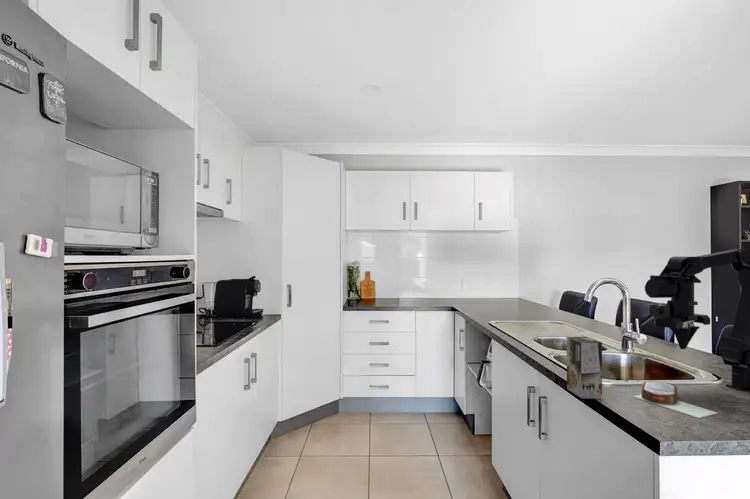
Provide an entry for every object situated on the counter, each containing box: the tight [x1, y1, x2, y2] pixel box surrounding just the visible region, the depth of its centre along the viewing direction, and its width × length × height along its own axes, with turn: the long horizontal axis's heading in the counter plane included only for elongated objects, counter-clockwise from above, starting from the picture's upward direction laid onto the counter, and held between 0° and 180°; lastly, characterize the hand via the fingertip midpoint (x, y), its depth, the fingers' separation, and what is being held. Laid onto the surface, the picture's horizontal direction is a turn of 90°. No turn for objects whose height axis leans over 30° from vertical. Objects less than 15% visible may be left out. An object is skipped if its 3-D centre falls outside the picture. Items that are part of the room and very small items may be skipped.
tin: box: [640, 380, 679, 404], centre depth 121 cm, size 15×3×8 cm
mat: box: [633, 394, 719, 420], centre depth 115 cm, size 8×17×1 cm, turn 24°
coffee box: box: [565, 336, 603, 400], centre depth 124 cm, size 9×6×16 cm
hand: (682, 348), depth 128 cm, fingers closed
